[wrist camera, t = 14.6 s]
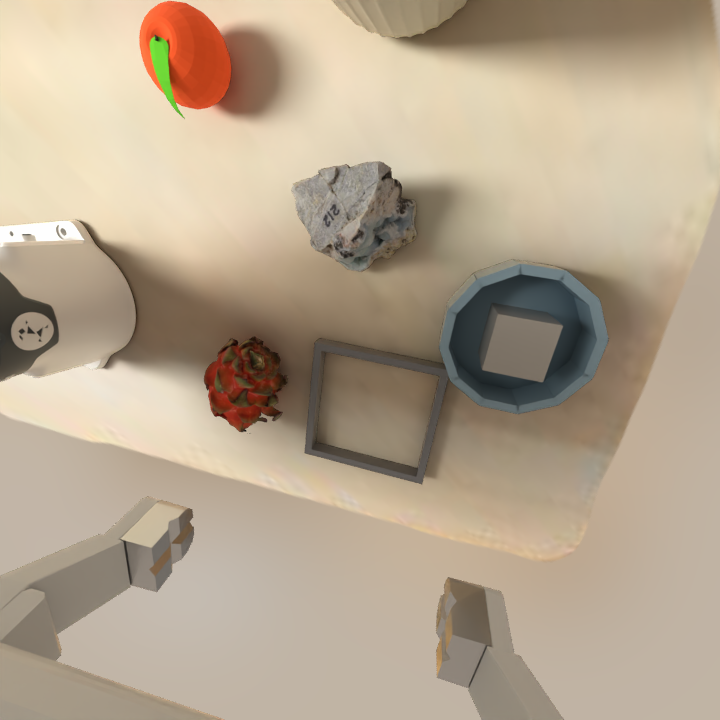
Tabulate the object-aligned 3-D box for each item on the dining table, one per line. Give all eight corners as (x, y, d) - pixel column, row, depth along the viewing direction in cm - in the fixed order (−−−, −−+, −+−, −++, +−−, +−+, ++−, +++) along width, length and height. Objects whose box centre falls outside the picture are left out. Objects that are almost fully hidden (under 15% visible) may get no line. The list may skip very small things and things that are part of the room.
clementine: (248, 133, 34) (201, 110, 28) (184, 130, 36) (125, 108, 29) (245, 27, 31) (191, -26, 25) (176, 28, 33) (108, -21, 26)
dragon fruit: (283, 321, 42) (271, 399, 48) (204, 317, 38) (202, 402, 45) (298, 364, 36) (282, 447, 42) (205, 364, 32) (203, 455, 38)
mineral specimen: (374, 248, 40) (384, 145, 34) (420, 277, 35) (441, 161, 29) (294, 262, 36) (288, 147, 30) (332, 297, 31) (334, 166, 24)
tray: (309, 445, 45) (304, 453, 44) (319, 338, 40) (314, 342, 38) (422, 475, 43) (421, 484, 41) (450, 365, 37) (450, 370, 36)
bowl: (430, 376, 38) (428, 394, 34) (459, 251, 34) (460, 254, 29) (558, 403, 36) (572, 426, 32) (609, 274, 31) (633, 280, 27)
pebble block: (477, 351, 35) (482, 370, 31) (491, 302, 34) (497, 314, 29) (530, 362, 35) (542, 382, 30) (547, 312, 33) (563, 325, 28)
